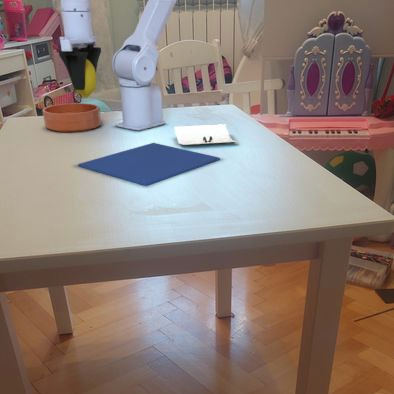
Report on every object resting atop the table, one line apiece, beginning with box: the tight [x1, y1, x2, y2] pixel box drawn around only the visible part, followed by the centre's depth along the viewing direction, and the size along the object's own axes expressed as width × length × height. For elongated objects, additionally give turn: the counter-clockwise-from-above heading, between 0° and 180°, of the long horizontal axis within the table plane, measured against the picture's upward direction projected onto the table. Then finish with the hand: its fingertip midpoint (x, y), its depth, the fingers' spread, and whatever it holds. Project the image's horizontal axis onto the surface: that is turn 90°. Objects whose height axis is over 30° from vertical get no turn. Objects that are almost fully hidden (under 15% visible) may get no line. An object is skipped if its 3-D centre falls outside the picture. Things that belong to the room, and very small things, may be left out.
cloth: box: [77, 142, 221, 187], centre depth 93 cm, size 20×18×1 cm
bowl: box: [42, 102, 102, 133], centre depth 117 cm, size 13×13×4 cm
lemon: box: [70, 59, 98, 99], centre depth 105 cm, size 6×6×8 cm
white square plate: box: [173, 123, 240, 146], centre depth 106 cm, size 12×12×2 cm
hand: (84, 87), depth 106 cm, fingers closed on lemon, 5 cm apart
